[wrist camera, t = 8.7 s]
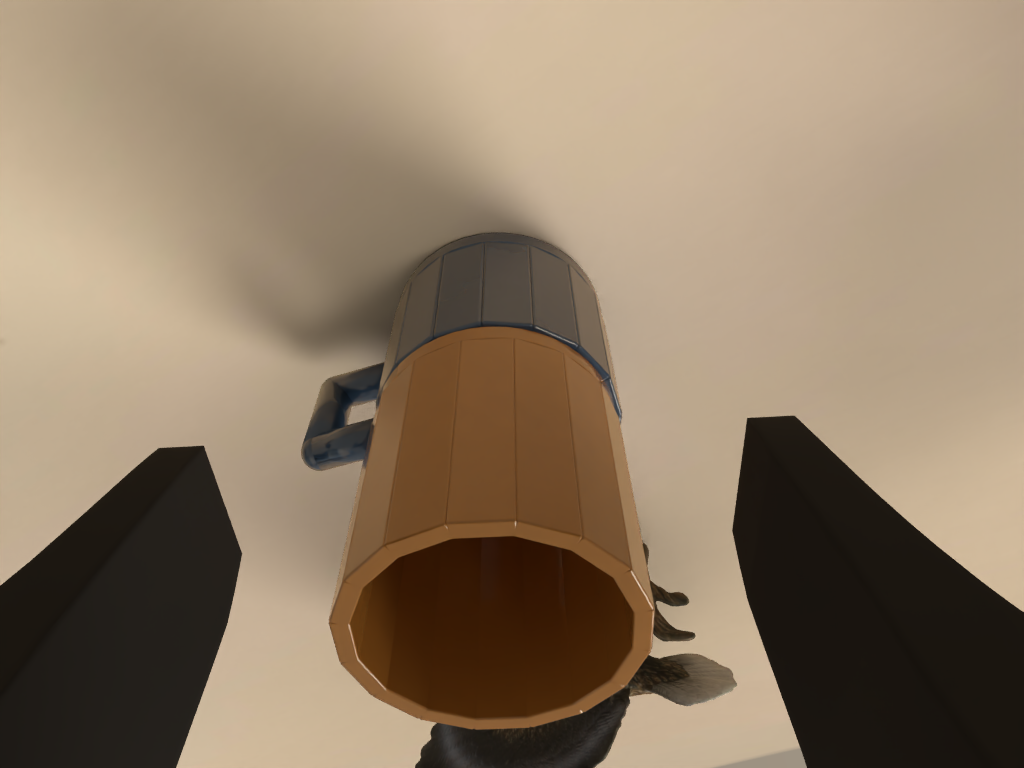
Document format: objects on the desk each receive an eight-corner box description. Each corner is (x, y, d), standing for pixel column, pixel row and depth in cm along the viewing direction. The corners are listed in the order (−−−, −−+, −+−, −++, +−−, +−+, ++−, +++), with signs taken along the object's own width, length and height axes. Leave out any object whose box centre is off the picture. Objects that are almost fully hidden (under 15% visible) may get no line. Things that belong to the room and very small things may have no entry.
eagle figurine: (487, 502, 24) (366, 714, 27) (651, 698, 19) (484, 923, 23) (640, 497, 29) (524, 673, 32) (794, 649, 25) (643, 835, 28)
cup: (570, 204, 20) (584, 291, 16) (622, 378, 23) (644, 485, 19) (283, 291, 21) (238, 391, 17) (368, 446, 24) (344, 557, 20)
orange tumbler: (665, 420, 18) (721, 628, 13) (505, 547, 20) (505, 762, 16) (483, 277, 16) (475, 464, 11) (328, 435, 18) (267, 646, 14)
